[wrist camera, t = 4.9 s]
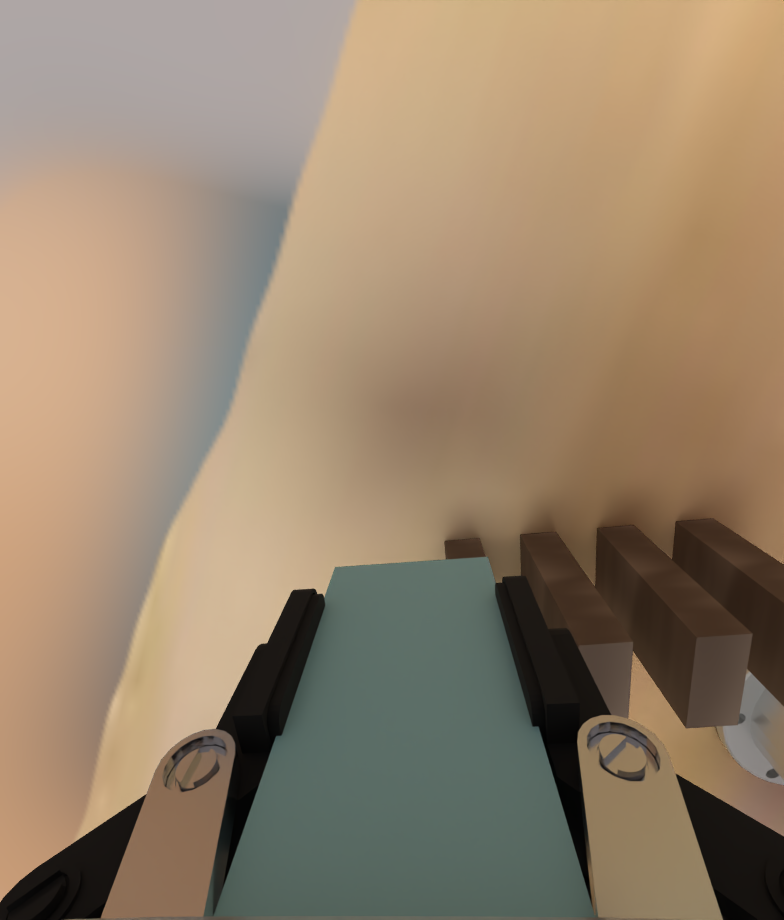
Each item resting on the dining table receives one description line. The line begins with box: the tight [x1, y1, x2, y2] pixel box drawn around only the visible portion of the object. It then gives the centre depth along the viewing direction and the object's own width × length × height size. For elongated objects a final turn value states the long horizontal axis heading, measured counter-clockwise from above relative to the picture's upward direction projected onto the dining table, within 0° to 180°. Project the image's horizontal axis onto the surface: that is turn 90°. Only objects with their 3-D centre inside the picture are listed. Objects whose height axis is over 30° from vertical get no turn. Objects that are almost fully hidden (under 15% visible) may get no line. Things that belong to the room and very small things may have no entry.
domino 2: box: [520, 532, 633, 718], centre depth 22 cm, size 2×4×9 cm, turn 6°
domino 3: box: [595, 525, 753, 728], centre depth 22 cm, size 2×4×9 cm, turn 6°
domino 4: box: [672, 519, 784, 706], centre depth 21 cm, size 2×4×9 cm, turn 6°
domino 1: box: [213, 557, 595, 917], centre depth 9 cm, size 2×4×9 cm, turn 97°
